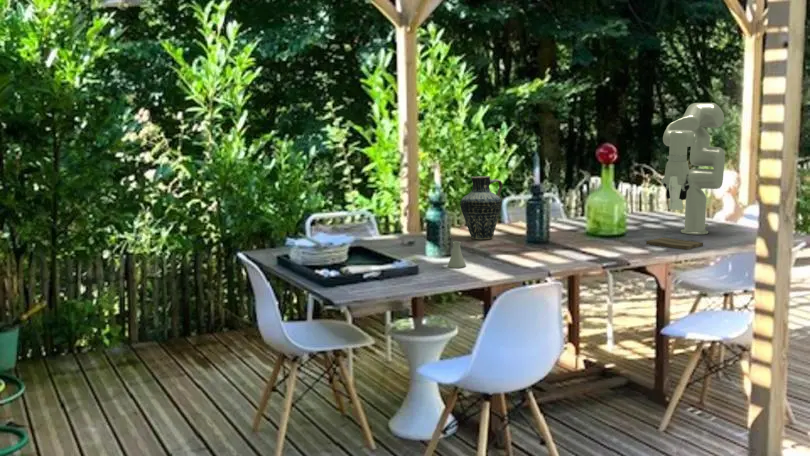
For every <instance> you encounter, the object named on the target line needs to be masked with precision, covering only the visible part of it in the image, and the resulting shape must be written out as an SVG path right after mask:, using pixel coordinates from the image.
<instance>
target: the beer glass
mask: <svg viewBox="0 0 810 456" xmlns="http://www.w3.org/2000/svg"><path fill="white" fill-rule="evenodd" d="M684 187H685V185H684ZM681 191H682V185H678V182H677V176H670V181H669V195H670V198H669V205H668V209H669V210H673V211H674V210H676V211H679V210H683V209H684V206H683V200H681Z"/></svg>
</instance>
